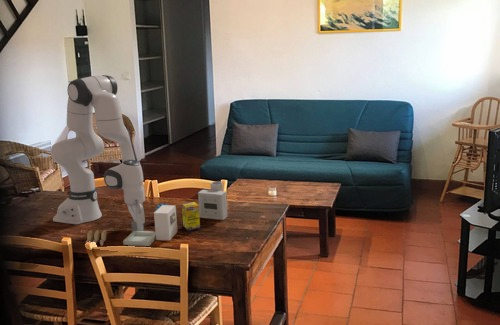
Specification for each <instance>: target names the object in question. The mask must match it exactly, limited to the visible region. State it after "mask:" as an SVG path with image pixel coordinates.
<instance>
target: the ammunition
mask: <svg viewBox="0 0 500 325" xmlns="http://www.w3.org/2000/svg"><path fill="white" fill-rule="evenodd" d="M100 234H101V235H100ZM86 239H87V240H85V243H86V242H89V241H92V242H93V241H94V242H96V243H98V242H99V244H100V247H102V246H104V242H106V240H107V229H102V231H101V232H100V230H99V229H96V230H95V232H93V230H88V232H87V233H86Z"/></svg>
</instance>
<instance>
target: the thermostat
mask: <svg viewBox="0 0 500 325" xmlns="http://www.w3.org/2000/svg"><path fill="white" fill-rule="evenodd" d="M223 187H224V184H223V182H222V181H212V182H210V189H201V190H200V191H198V193H197V196H198V205H199V217H200V219H201V218H203V219H211V220H219V221H220V220H221V221H223V220H225V219H226V218H228V200H227V191H224V188H223Z"/></svg>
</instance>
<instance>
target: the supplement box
mask: <svg viewBox="0 0 500 325" xmlns="http://www.w3.org/2000/svg"><path fill="white" fill-rule="evenodd" d="M181 208H182V209H181V210H182V224H183V225H182V226H183V228H184V229H185V230H186V231H187V232H189V231H193V230H199V229H201V222H200V221H201V220H200V219H201V217H200V215H199V203H197V202H195V201H193V202H188V203H181Z"/></svg>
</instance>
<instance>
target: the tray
mask: <svg viewBox="0 0 500 325" xmlns="http://www.w3.org/2000/svg"><path fill="white" fill-rule="evenodd" d="M155 241H157V240H156V231H153V230H152V231H149V230H143V231H133V232H132V231H131V232H130V234H129V235H128V236H127V237H126V238H124V239H123V241H122V243H123V246H124V245H128V246H130V247H146V246H149V247H150V246H151V245H152V244H153V243H154V242H155ZM128 246H127V247H128Z"/></svg>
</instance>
